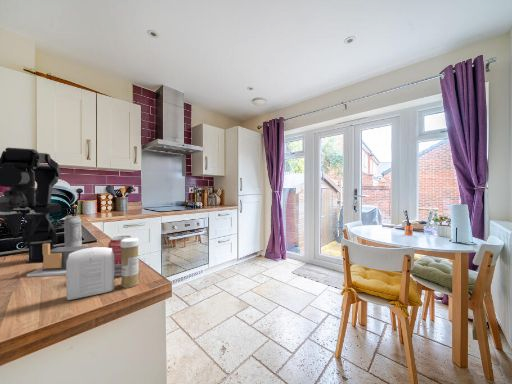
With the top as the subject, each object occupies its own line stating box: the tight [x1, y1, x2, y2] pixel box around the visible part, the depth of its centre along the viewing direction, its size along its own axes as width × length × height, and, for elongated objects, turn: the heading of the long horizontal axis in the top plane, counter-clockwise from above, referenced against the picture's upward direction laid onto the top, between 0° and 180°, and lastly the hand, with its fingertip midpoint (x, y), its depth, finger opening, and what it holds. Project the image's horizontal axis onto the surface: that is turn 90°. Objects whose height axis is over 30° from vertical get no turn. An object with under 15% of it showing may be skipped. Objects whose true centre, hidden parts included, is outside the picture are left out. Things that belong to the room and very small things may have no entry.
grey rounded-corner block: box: [65, 246, 115, 301], centre depth 57 cm, size 10×4×12 cm, turn 123°
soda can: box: [107, 235, 132, 278], centre depth 71 cm, size 7×7×12 cm
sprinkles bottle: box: [120, 237, 140, 289], centre depth 62 cm, size 5×5×14 cm
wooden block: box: [42, 243, 62, 269], centre depth 71 cm, size 5×1×8 cm, turn 98°
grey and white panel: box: [26, 245, 92, 278], centre depth 76 cm, size 18×13×7 cm
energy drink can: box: [63, 215, 83, 247], centre depth 98 cm, size 6×6×15 cm
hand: (23, 235), depth 70 cm, fingers open, 4 cm apart
